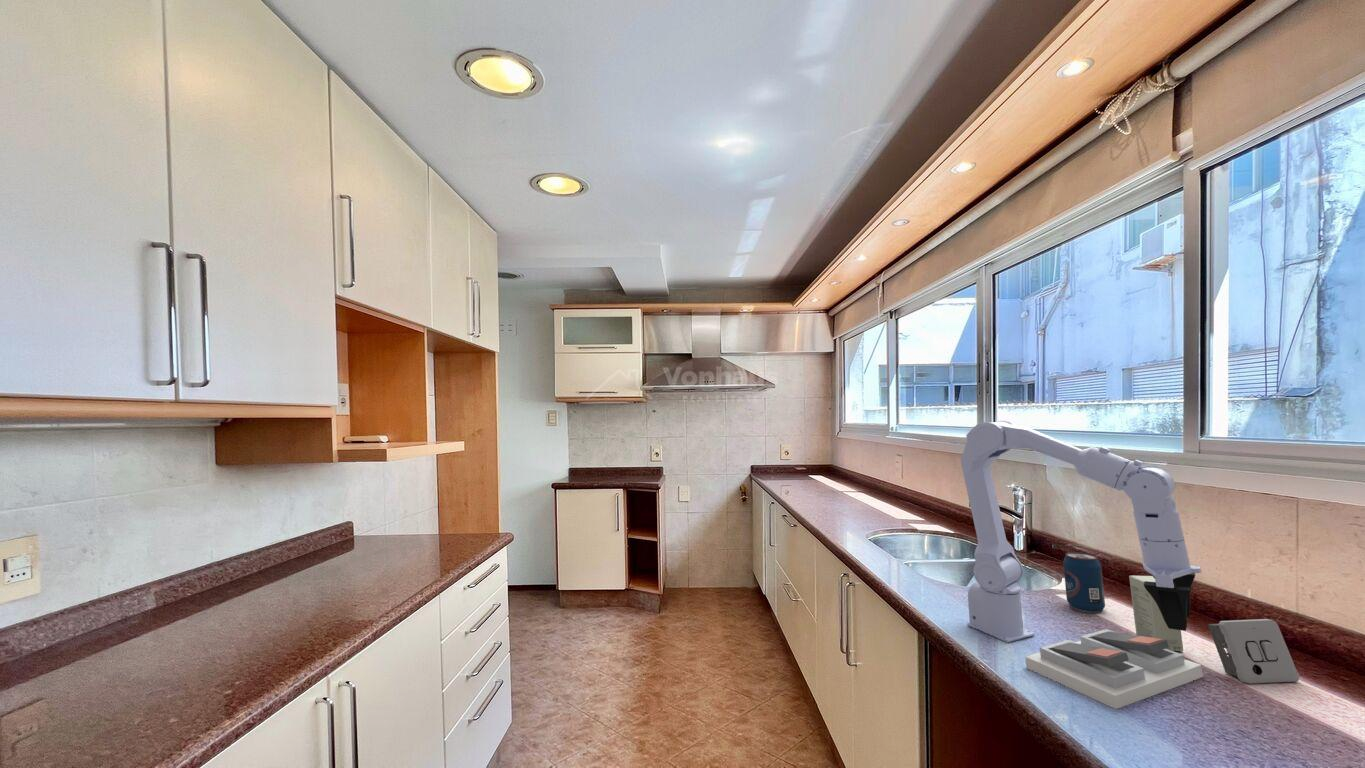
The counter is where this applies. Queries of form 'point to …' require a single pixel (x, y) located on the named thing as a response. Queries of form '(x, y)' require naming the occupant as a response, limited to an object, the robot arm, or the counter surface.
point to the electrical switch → (1254, 651)
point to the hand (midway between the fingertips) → (1179, 622)
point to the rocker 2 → (1132, 642)
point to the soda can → (1084, 582)
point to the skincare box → (1151, 615)
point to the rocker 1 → (1091, 654)
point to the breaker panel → (1116, 672)
